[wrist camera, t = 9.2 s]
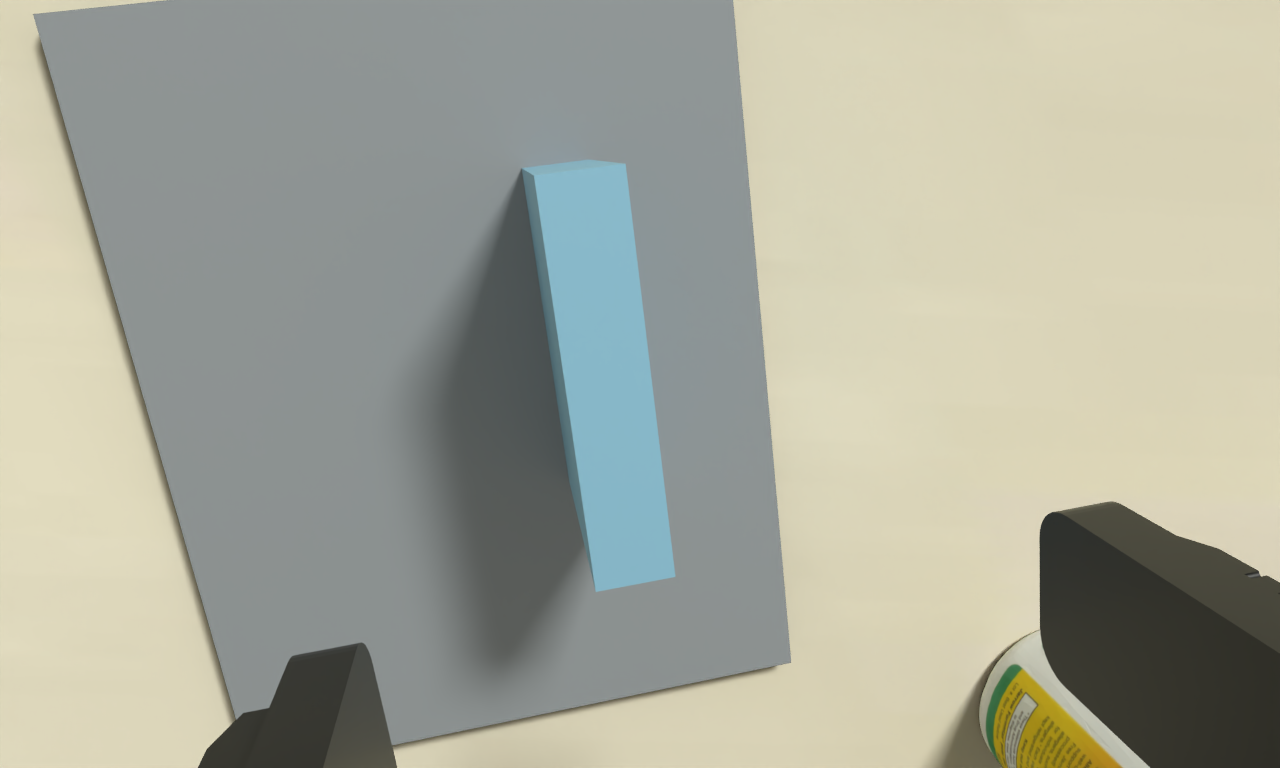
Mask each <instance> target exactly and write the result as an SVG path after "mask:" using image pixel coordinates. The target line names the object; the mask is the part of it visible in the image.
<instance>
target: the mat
mask: <svg viewBox="0 0 1280 768" xmlns="http://www.w3.org/2000/svg"><path fill="white" fill-rule="evenodd" d="M33 15H34V19H35V22H36V26H37V29H38V33H39V36H40V39H41V43H42V46H43V50H44V53H45V57H46V60H47V64H48V67H49V71H50V74H51V78H52V81H53V85H54V88H55V92H56V95H57V99H58V102H59V106H60V109H61V112H62V116H63V119H64V123H65V126H66V130H67V133H68V137H69V140H70V144H71V147H72V151H73V154H74V158H75V161H76V165H77V168H78V172H79V175H80V179H81V182H82V185H83V189H84V192H85V196H86V199H87V203H88V206H89V210H90V213H91V217H92V220H93V224H94V227H95V231H96V234H97V238H98V241H99V245H100V248H101V252H102V255H103V259H104V262H105V265H106V269H107V272H108V276H109V279H110V283H111V286H112V290H113V293H114V297H115V300H116V304H117V307H118V311H119V314H120V318H121V321H122V325H123V328H124V332H125V335H126V338H127V342H128V345H129V349H130V352H131V356H132V359H133V363H134V366H135V370H136V373H137V377H138V380H139V384H140V387H141V391H142V394H143V398H144V401H145V405H146V408H147V411H148V415H149V418H150V422H151V425H152V429H153V432H154V436H155V439H156V443H157V446H158V450H159V453H160V457H161V460H162V464H163V467H164V471H165V474H166V478H167V481H168V485H169V488H170V491H171V495H172V498H173V502H174V505H175V509H176V512H177V516H178V519H179V523H180V526H181V530H182V533H183V537H184V540H185V544H186V547H187V551H188V554H189V558H190V561H191V564H192V568H193V571H194V575H195V578H196V582H197V585H198V589H199V592H200V596H201V599H202V603H203V606H204V610H205V613H206V617H207V620H208V624H209V627H210V631H211V634H212V637H213V641H214V644H215V648H216V651H217V655H218V658H219V662H220V665H221V669H222V672H223V676H224V679H225V683H226V686H227V690H228V693H229V697H230V700H231V704H232V707H233V710H234V714H235V717H236V720H237V719H238V718H239V717H240V716H241V715H242V714H243V713H246V712H251V711H256V710H261V709H266V708H269V707H270V704H271V702H272V700H273V697H274V695H275V692H276V690H277V687H278V685H279V682H280V680H281V678H282V675H283V673H284V670H285V668H286V665H287V663H288V661H289V659H290V658H291V657H292V656H294V655H298V654H303V653H309V652H314V651H319V650H324V649H330V648H335V647H340V646H345V645H351V644H356V643H361V642H362V643H364V644H365V645H366V647H367V649H368V651H369V653H370V656H371V659H372V663H373V667H374V671H375V676H376V680H377V684H378V688H379V692H380V697H381V701H382V705H383V709H384V714H385V718H386V722H387V726H388V731H389V735H390V739H391V743H392V745H396V744H401V743H406V742H411V741H416V740H420V739H425V738H430V737H435V736H440V735H444V734H449V733H454V732H459V731H464V730H469V729H473V728H478V727H483V726H488V725H493V724H497V723H502V722H507V721H512V720H517V719H521V718H526V717H531V716H536V715H541V714H546V713H550V712H555V711H560V710H565V709H570V708H574V707H579V706H584V705H589V704H594V703H599V702H603V701H608V700H613V699H618V698H623V697H627V696H632V695H637V694H642V693H647V692H652V691H656V690H661V689H666V688H671V687H676V686H680V685H685V684H690V683H695V682H700V681H704V680H709V679H714V678H719V677H724V676H729V675H733V674H738V673H743V672H748V671H753V670H757V669H762V668H767V667H772V666H777V665H782V664H786V663H791V656H790V644H789V633H788V622H787V610H786V599H785V587H784V576H783V565H782V553H781V542H780V530H779V519H778V508H777V496H776V485H775V474H774V462H773V451H772V439H771V428H770V417H769V405H768V394H767V382H766V371H765V360H764V348H763V337H762V326H761V314H760V303H759V291H758V280H757V269H756V257H755V246H754V234H753V223H752V212H751V200H750V189H749V178H748V166H747V155H746V143H745V132H744V121H743V109H742V98H741V86H740V75H739V64H738V52H737V41H736V29H735V18H734V7H733V0H166V1H156V2H147V3H137V4H127V5H118V6H108V7H98V8H89V9H79V10H69V11H60V12H50V13H40V14H33ZM581 160H597V161H606V162H615V163H624V164H626V171H627V179H628V188H629V196H630V204H631V213H632V221H633V229H634V237H635V246H636V254H637V262H638V271H639V279H640V287H641V295H642V304H643V312H644V320H645V328H646V337H647V345H648V353H649V362H650V370H651V378H652V386H653V395H654V403H655V411H656V419H657V428H658V436H659V444H660V453H661V461H662V469H663V477H664V486H665V494H666V502H667V511H668V519H669V527H670V535H671V544H672V552H673V560H674V568H675V577H672V578H667V579H662V580H657V581H651V582H646V583H641V584H635V585H630V586H625V587H620V588H614V589H609V590H604V591H598V592H596V591H595V587H594V582H593V578H592V574H591V570H590V566H589V562H588V558H587V553H586V549H585V545H584V541H583V537H582V533H581V529H580V524H579V520H578V516H577V512H576V508H575V504H574V500H573V495H572V491H571V487H570V483H569V477H568V470H567V464H566V457H565V450H564V444H563V437H562V431H561V424H560V417H559V411H558V404H557V398H556V391H555V385H554V378H553V371H552V365H551V358H550V352H549V345H548V338H547V332H546V325H545V319H544V312H543V306H542V299H541V292H540V286H539V279H538V273H537V266H536V260H535V253H534V246H533V240H532V233H531V227H530V220H529V213H528V207H527V200H526V194H525V187H524V181H523V174H522V168H527V167H534V166H542V165H550V164H558V163H566V162H574V161H581Z"/></svg>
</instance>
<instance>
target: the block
mask: <svg viewBox="0 0 1280 768" xmlns="http://www.w3.org/2000/svg"><path fill="white" fill-rule="evenodd" d="M522 174H523V181H524V187H525V194H526V200H527V207H528V213H529V220H530V227H531V233H532V240H533V246H534V253H535V260H536V266H537V273H538V279H539V286H540V292H541V299H542V306H543V312H544V319H545V325H546V332H547V338H548V345H549V352H550V358H551V365H552V371H553V378H554V385H555V391H556V398H557V404H558V411H559V417H560V424H561V431H562V437H563V444H564V450H565V457H566V464H567V470H568V477H569V483H570V487H571V491H572V495H573V500H574V504H575V508H576V512H577V516H578V520H579V524H580V529H581V533H582V537H583V541H584V545H585V549H586V553H587V558H588V562H589V566H590V570H591V574H592V578H593V582H594V587H595V591H596V592H598V591H604V590H609V589H614V588H620V587H625V586H630V585H635V584H641V583H646V582H651V581H657V580H662V579H667V578H672V577H675V568H674V560H673V552H672V544H671V535H670V527H669V519H668V511H667V502H666V494H665V486H664V477H663V469H662V461H661V453H660V444H659V436H658V428H657V419H656V411H655V403H654V395H653V386H652V378H651V370H650V362H649V353H648V345H647V337H646V328H645V320H644V312H643V304H642V295H641V287H640V279H639V271H638V262H637V254H636V246H635V237H634V229H633V221H632V213H631V204H630V196H629V188H628V179H627V171H626V164H624V163H615V162H606V161H597V160H581V161H574V162H566V163H558V164H550V165H542V166H534V167H527V168H522Z"/></svg>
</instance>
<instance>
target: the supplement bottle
mask: <svg viewBox="0 0 1280 768" xmlns="http://www.w3.org/2000/svg"><path fill="white" fill-rule="evenodd" d="M979 721H980V727H981V732H982V735H983V738H984V740H985V742H986V744H987V746H988V748H989V750H990V751H991V753H992V754H993V755H994V757H995V758H996V759H997V761H998V762H999V763H1000V765H1001V766H1002V767H1003V768H1150V767H1149V766H1148V765H1147V764H1146V763H1145V762H1144V761H1142V760H1141V759H1140V758H1139V757H1138V756H1137V755H1136V754H1135V753H1134V752H1133V751H1132V750H1131V749H1130V748H1129V747H1128V746H1127V745H1126V744H1124V743H1123V742H1122V741H1121V740H1120V739H1119V738H1118V737H1117V736H1116V735H1115V734H1114V733H1113V732H1112V731H1111V730H1110V729H1109V728H1108V727H1107V726H1105V725H1104V724H1103V723H1102V722H1101V721H1100V720H1099V719H1098V718H1097V717H1096V716H1095V715H1094V714H1093V713H1092V712H1091V711H1090V710H1089V709H1087V708H1086V707H1085V706H1084V705H1083V704H1082V703H1081V702H1080V701H1079V700H1078V699H1077V698H1076V697H1075V696H1074V695H1073V694H1072V693H1071V692H1070V691H1068V690H1067V689H1066V688H1065V687H1064V686H1063V685H1062V683H1061V682H1060V681H1059V680H1058V678H1057V677H1056V676H1055V674H1054V672H1053V671H1052V669H1051V667H1050V665H1049V663H1048V660H1047V658H1046V655H1045V652H1044V649H1043V645H1042V641H1041V635H1040V630H1038V631H1036V632H1034V633H1032V634H1030V635H1028V636H1026V637H1024V638H1023V639H1021V640H1020V641H1019V642H1017V643H1016V644H1015V645H1014V646H1012V647H1011V648H1010V649H1009V650H1008V651H1007V652H1006V653H1005V654H1004V655H1003V656H1002V658H1001V659H1000V660H999V661H998V662H997V664H996V665H995V667H994V669H993V670H992V672H991V674H990V675H989V678H988V681H987V683H986V686H985V688H984V691H983V694H982V697H981V702H980V708H979Z"/></svg>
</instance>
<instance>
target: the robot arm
mask: <svg viewBox="0 0 1280 768" xmlns="http://www.w3.org/2000/svg"><path fill="white" fill-rule="evenodd" d="M1040 635H1041V641H1042V645H1043V649H1044V652H1045V655H1046V658H1047V660H1048V663H1049V665H1050V667H1051V669H1052V671H1053V672H1054V674H1055V676H1056V677H1057V678H1058V680H1059V681H1060V682H1061V683H1062V685H1063V686H1064V687H1065V688H1066V689H1067V690H1068V691H1070V692H1071V693H1072V694H1073V695H1074V696H1075V697H1076V698H1077V699H1078V700H1079V701H1080V702H1081V703H1082V704H1083V705H1084V706H1085V707H1086V708H1087V709H1089V710H1090V711H1091V712H1092V713H1093V714H1094V715H1095V716H1096V717H1097V718H1098V719H1099V720H1100V721H1101V722H1102V723H1103V724H1104V725H1105V726H1107V727H1108V728H1109V729H1110V730H1111V731H1112V732H1113V733H1114V734H1115V735H1116V736H1117V737H1118V738H1119V739H1120V740H1121V741H1122V742H1123V743H1124V744H1126V745H1127V746H1128V747H1129V748H1130V749H1131V750H1132V751H1133V752H1134V753H1135V754H1136V755H1137V756H1138V757H1139V758H1140V759H1141V760H1142V761H1144V762H1145V763H1146V764H1147V765H1148V766H1149V767H1150V768H1280V583H1279V582H1278V581H1276V580H1274V579H1272V578H1270V577H1269V576H1263V577H1261V576H1260V574H1259V571H1258V570H1256V569H1254V568H1252V567H1250V566H1249V565H1247V564H1245V563H1243V562H1241V561H1240V560H1238V559H1236V558H1234V557H1232V556H1231V555H1229V554H1227V553H1225V552H1223V551H1222V550H1220V549H1217V548H1214V547H1211V546H1208V545H1205V544H1201V543H1198V542H1195V541H1192V540H1189V539H1185V538H1182V537H1179V536H1176V535H1174V534H1172V533H1171V532H1169V531H1167V530H1165V529H1164V528H1162V527H1160V526H1158V525H1157V524H1155V523H1153V522H1151V521H1150V520H1148V519H1146V518H1144V517H1142V516H1141V515H1139V514H1137V513H1135V512H1134V511H1132V510H1130V509H1128V508H1127V507H1125V506H1123V505H1121V504H1119V503H1116V502H1105V503H1099V504H1094V505H1089V506H1084V507H1078V508H1073V509H1068V510H1063V511H1057V512H1052V513H1050V514H1048V515H1047V516H1046V517H1045V518H1044V520H1043V522H1042V525H1041V529H1040ZM198 768H397V765H396V761H395V756H394V752H393V748H392V743H391V739H390V735H389V731H388V726H387V722H386V718H385V714H384V709H383V705H382V701H381V697H380V692H379V688H378V684H377V680H376V676H375V671H374V667H373V663H372V659H371V656H370V653H369V651H368V649H367V647H366V645H365V644H364V643H362V642H361V643H356V644H351V645H345V646H340V647H335V648H330V649H324V650H319V651H314V652H309V653H303V654H298V655H294V656H292V657H291V658H290V659H289V661H288V663H287V665H286V668H285V670H284V673H283V675H282V678H281V680H280V682H279V685H278V687H277V690H276V692H275V695H274V697H273V700H272V702H271V704H270V707H269V708H266V709H261V710H256V711H251V712H246V713H243V714H242V715H241V716H240V717H239V718H238V719H237V720H236V721H235V722H234V723H233V724H232V725H231V726H230V727H229V728H228V729H227V730H226V731H225V732H224V733H223V734H222V735H221V736H220V737H219V738H218V739H217V740H216V741H215V742H214V743H213V744H212V745H211V746H210V747H209V748H208V749H207V750H206V752H205V754H204V756H203V758H202V760H201V762H200V765H199V767H198Z"/></svg>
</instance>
